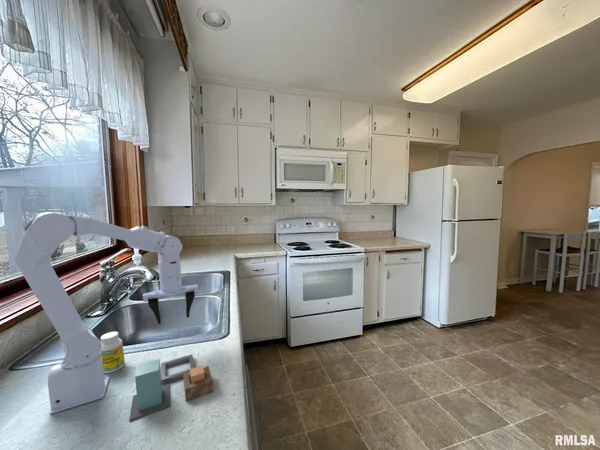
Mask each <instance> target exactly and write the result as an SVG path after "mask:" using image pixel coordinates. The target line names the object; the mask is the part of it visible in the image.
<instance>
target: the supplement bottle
mask: <svg viewBox="0 0 600 450" xmlns="http://www.w3.org/2000/svg"><path fill="white" fill-rule="evenodd" d="M119 335H120V334H119V332H118V331H110V332H107V333H104V334H102V335H101V337H100V339H99V340H100V341H101V343H102V349H101V354H102V363H103V372H104V374H110V373H114V372H116V371H119V370H120V369H121V368H123V366H125V363H126V362H125V361H126V360H125V352H124V345H123V344H124V343H123V339H122V338H120V336H119Z"/></svg>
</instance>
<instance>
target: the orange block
mask: <svg viewBox="0 0 600 450" xmlns="http://www.w3.org/2000/svg"><path fill="white" fill-rule="evenodd" d="M203 367H204V366H203V365H200V366H195V368H193V369H190V379H191V384H192V383H195V382H198V381H201V380H204V379H205V373H204V368H203Z"/></svg>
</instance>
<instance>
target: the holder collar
mask: <svg viewBox="0 0 600 450" xmlns="http://www.w3.org/2000/svg"><path fill="white" fill-rule="evenodd" d="M187 362H189V366H190V367H189V368H190V369H193V368H196V366H195V361H194V356H193V353H192V354H189V355H188V354H187V355H185V356H181V357H177V358H174V359H171V360H167V361H164V362H160V367H161V379H162V386H164V385H167V384H170V383H172V382H176V381H178V380H181V379H184V378H183V374H185V373H188V372H190V369H186V370H182V371H180V372H176V373H174V374H173V373H172V374H170V375H167V373H166V371H167V368H170V367H173V366H177V365H180V364H183V363H187ZM166 375H167V376H166Z"/></svg>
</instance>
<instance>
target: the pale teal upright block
mask: <svg viewBox="0 0 600 450" xmlns="http://www.w3.org/2000/svg"><path fill="white" fill-rule="evenodd" d="M160 359H161V358H157V359H155V360H151V361H148V362H143V363H140V364H137V365H136V366H137V367H136V371H135V375H134V380H135V390H136V395H137V401H138V411H140V410H143V409H146V408H149V407H152V406H155V405H158V404H161V403H162V391H163V390H162V386H163V385H162V379H161V360H160Z"/></svg>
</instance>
